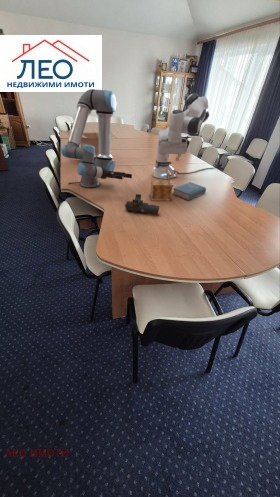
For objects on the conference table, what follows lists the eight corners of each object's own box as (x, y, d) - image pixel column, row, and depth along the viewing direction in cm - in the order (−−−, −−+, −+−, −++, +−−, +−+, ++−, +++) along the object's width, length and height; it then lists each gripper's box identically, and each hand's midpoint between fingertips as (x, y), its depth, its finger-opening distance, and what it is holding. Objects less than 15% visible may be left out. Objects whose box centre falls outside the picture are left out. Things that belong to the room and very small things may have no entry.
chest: (167, 195, 175) (169, 182, 168) (170, 200, 167) (172, 186, 160) (150, 194, 173) (151, 181, 167) (152, 200, 165) (153, 186, 159)
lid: (170, 181, 168) (172, 170, 163) (173, 186, 160) (175, 174, 155) (151, 181, 166) (152, 169, 161) (153, 186, 159) (154, 174, 153)
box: (116, 165, 229) (116, 136, 213) (83, 168, 214) (80, 137, 198) (102, 154, 259) (101, 128, 243) (71, 156, 244) (68, 129, 228)
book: (188, 187, 190) (190, 182, 187) (205, 193, 181) (206, 187, 178) (172, 193, 177) (173, 187, 174) (188, 200, 168) (190, 194, 165)
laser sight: (156, 217, 143) (158, 203, 137) (123, 212, 146) (123, 198, 140) (159, 211, 151) (160, 197, 145) (127, 206, 154) (127, 192, 148)
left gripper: (93, 179, 164) (118, 182, 176) (108, 177, 144) (135, 181, 156) (93, 168, 162) (119, 173, 174) (108, 165, 142) (136, 170, 154)
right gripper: (160, 139, 141) (158, 162, 149) (189, 140, 146) (185, 161, 154) (157, 137, 145) (155, 159, 154) (185, 138, 151) (182, 159, 159)
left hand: (126, 177), depth 165 cm, fingers open, 13 cm apart
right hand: (170, 160), depth 154 cm, fingers open, 8 cm apart
